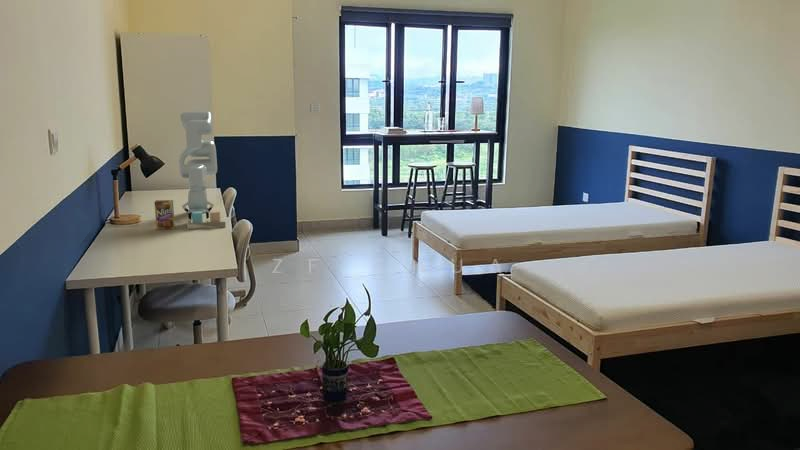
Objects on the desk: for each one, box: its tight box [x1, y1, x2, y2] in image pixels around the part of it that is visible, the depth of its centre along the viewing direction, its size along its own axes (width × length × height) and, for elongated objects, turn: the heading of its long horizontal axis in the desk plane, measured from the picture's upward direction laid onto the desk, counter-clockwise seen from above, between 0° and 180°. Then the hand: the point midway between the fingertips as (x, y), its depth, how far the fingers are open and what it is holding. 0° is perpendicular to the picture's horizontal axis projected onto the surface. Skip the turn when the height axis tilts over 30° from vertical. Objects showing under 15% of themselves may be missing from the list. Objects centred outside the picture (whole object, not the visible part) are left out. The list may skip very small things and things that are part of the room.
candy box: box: [153, 199, 176, 230], centre depth 329 cm, size 9×4×15 cm, turn 98°
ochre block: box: [209, 210, 221, 222], centre depth 337 cm, size 5×5×8 cm
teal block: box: [191, 211, 204, 223], centre depth 339 cm, size 16×5×8 cm, turn 15°
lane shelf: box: [186, 217, 227, 230], centre depth 337 cm, size 10×20×3 cm, turn 105°
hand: (198, 219), depth 346 cm, fingers open, 8 cm apart
